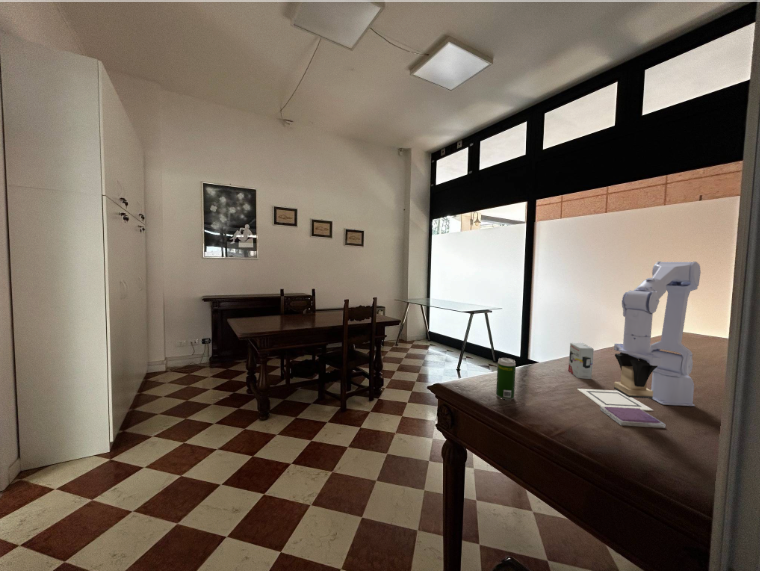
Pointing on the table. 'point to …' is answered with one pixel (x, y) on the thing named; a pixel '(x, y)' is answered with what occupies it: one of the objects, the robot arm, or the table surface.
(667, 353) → the robot arm
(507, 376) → the green canister
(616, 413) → the ink pad
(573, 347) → the ink box
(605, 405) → the paper sheet
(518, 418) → the table surface
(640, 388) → the wooden stamp
